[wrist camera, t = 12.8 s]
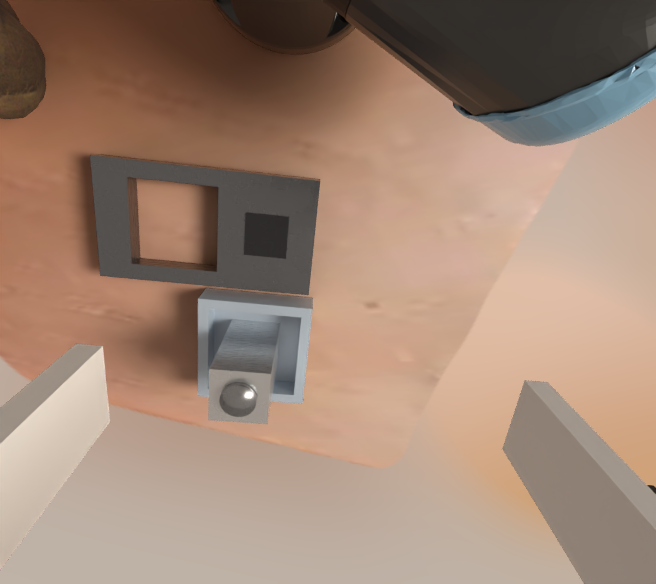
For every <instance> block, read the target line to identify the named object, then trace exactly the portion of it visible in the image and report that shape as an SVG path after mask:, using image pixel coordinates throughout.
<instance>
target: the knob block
mask: <svg viewBox="0 0 656 584" xmlns="http://www.w3.org/2000/svg"><path fill="white" fill-rule="evenodd" d="M280 324H281V323H273V322H262V321H250V320H239V319H232V321H231V324H230V326H229V328H228V330H227V332H226V334H225V336H224V338H223V341H222V343H221V345H220V347H219V349H218V351H217V353H216V355H215V358H214V360H213V362H212V364H211V366H210V368H209V416H208V420H214V421H228V422H243V423H257V424H267V423H268V417H269V411H270V405H271V399H272V393H273V387H274V382H275V376H276V370H277V363H278V350H279V337H280Z"/></svg>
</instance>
